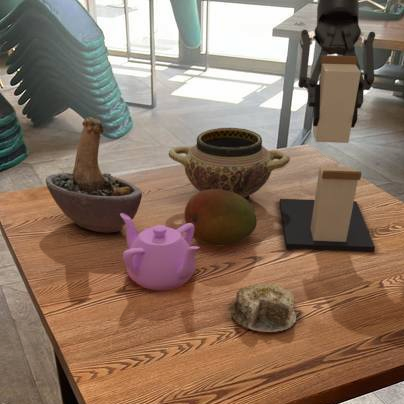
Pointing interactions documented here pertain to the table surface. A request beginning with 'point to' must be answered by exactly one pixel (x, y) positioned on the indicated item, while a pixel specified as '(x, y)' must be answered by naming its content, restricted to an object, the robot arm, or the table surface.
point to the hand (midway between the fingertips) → (334, 122)
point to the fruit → (220, 217)
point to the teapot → (159, 255)
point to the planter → (93, 188)
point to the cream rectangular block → (337, 98)
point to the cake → (264, 308)
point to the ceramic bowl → (229, 161)
